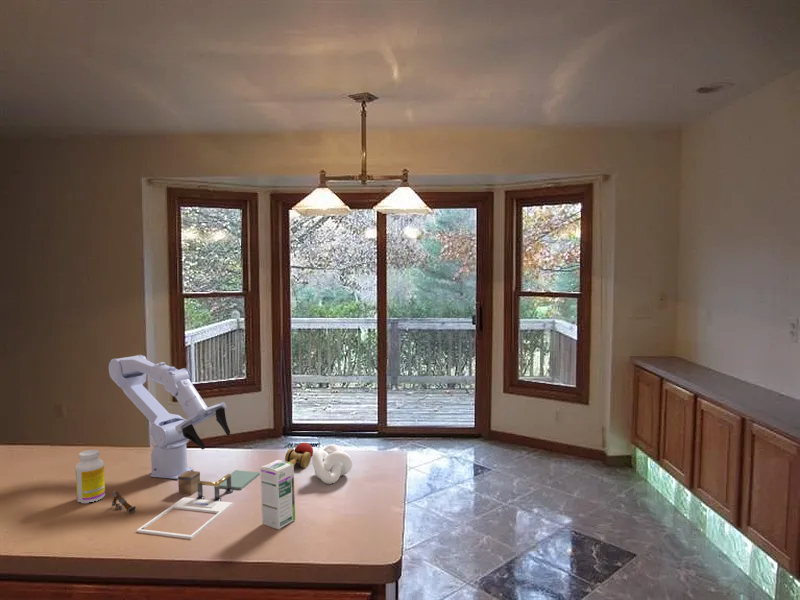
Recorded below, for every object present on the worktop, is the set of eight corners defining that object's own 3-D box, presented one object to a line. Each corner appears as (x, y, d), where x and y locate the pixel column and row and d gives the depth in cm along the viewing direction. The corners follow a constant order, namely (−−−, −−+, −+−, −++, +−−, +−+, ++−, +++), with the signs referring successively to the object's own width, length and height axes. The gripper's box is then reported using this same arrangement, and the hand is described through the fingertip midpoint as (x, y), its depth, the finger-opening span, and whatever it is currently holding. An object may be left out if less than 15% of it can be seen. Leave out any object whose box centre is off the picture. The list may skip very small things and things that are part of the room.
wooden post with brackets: (114, 501, 140) (117, 487, 139) (132, 519, 137) (136, 505, 136) (107, 504, 139) (111, 490, 137) (125, 522, 135) (129, 508, 134)
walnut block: (178, 493, 147) (178, 476, 146) (187, 487, 151) (187, 470, 150) (191, 495, 146) (191, 477, 145) (200, 489, 150) (199, 471, 149)
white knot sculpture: (353, 470, 163) (353, 441, 162) (351, 486, 151) (351, 455, 150) (316, 470, 163) (316, 442, 162) (311, 487, 151) (310, 456, 150)
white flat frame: (232, 501, 140) (191, 536, 123) (232, 505, 140) (191, 540, 123) (183, 496, 143) (136, 529, 126) (183, 500, 143) (136, 533, 126)
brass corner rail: (194, 500, 142) (194, 481, 142) (211, 488, 150) (211, 469, 150) (218, 503, 141) (218, 483, 140) (234, 490, 148) (233, 472, 148)
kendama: (296, 485, 155) (320, 455, 172) (290, 465, 154) (316, 437, 171) (273, 487, 158) (299, 457, 174) (267, 467, 157) (294, 439, 174)
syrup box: (278, 530, 126) (277, 470, 125) (261, 524, 130) (259, 465, 128) (295, 520, 131) (294, 463, 130) (278, 514, 134) (277, 458, 133)
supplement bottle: (110, 496, 145) (109, 450, 144) (87, 506, 139) (85, 458, 138) (94, 491, 148) (92, 446, 147) (71, 501, 142) (68, 454, 141)
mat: (215, 487, 151) (215, 484, 151) (235, 472, 162) (235, 470, 161) (241, 489, 149) (241, 487, 149) (259, 474, 160) (259, 472, 160)
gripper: (167, 409, 147) (191, 448, 142) (216, 385, 155) (240, 421, 150) (168, 420, 152) (191, 458, 147) (215, 396, 160) (239, 432, 156)
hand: (216, 440), depth 149 cm, fingers open, 7 cm apart
